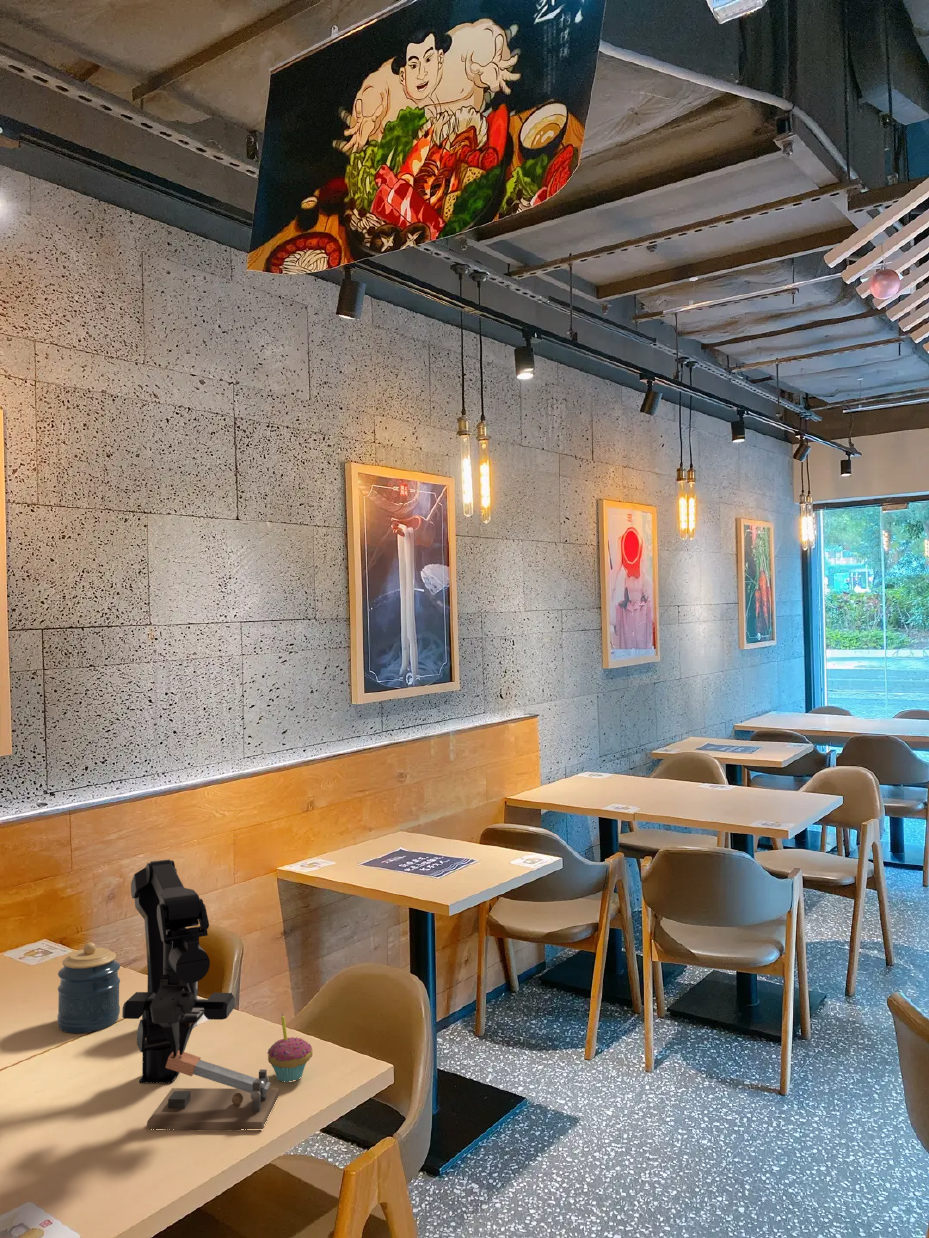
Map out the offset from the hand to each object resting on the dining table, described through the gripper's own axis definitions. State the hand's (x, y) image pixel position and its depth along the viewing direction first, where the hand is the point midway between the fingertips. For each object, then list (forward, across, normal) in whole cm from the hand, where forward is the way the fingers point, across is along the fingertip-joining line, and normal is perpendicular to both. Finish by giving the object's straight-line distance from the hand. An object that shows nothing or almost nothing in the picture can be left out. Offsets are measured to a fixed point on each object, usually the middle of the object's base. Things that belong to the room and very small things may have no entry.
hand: (178, 1053), depth 161 cm
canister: (+11, -34, +40) cm, 54 cm away
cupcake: (+10, +17, +14) cm, 24 cm away
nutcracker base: (+10, +7, 0) cm, 12 cm away
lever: (+5, +7, 0) cm, 8 cm away
